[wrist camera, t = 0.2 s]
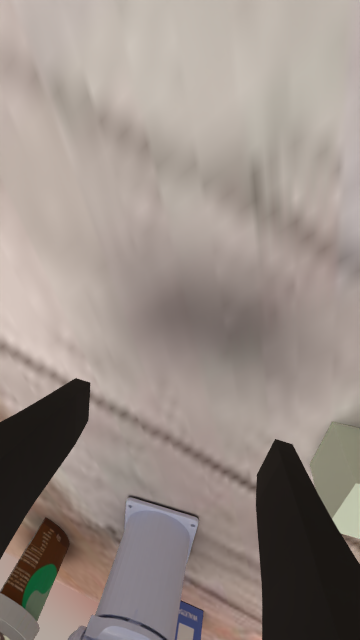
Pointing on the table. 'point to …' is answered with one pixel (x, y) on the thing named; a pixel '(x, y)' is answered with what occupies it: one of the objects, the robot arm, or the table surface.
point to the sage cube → (339, 476)
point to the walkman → (189, 623)
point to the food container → (31, 583)
